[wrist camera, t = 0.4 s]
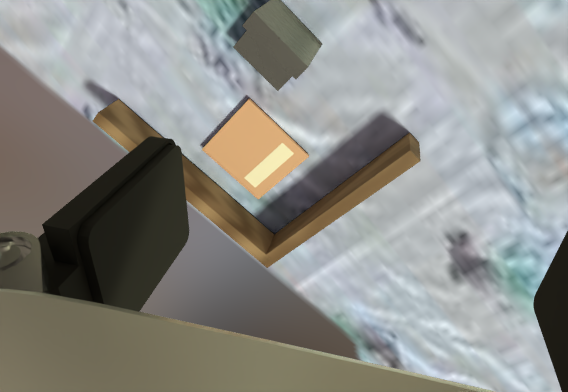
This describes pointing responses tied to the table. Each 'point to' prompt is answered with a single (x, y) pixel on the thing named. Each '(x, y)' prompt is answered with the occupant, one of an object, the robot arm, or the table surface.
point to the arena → (241, 222)
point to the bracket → (277, 43)
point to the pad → (255, 150)
